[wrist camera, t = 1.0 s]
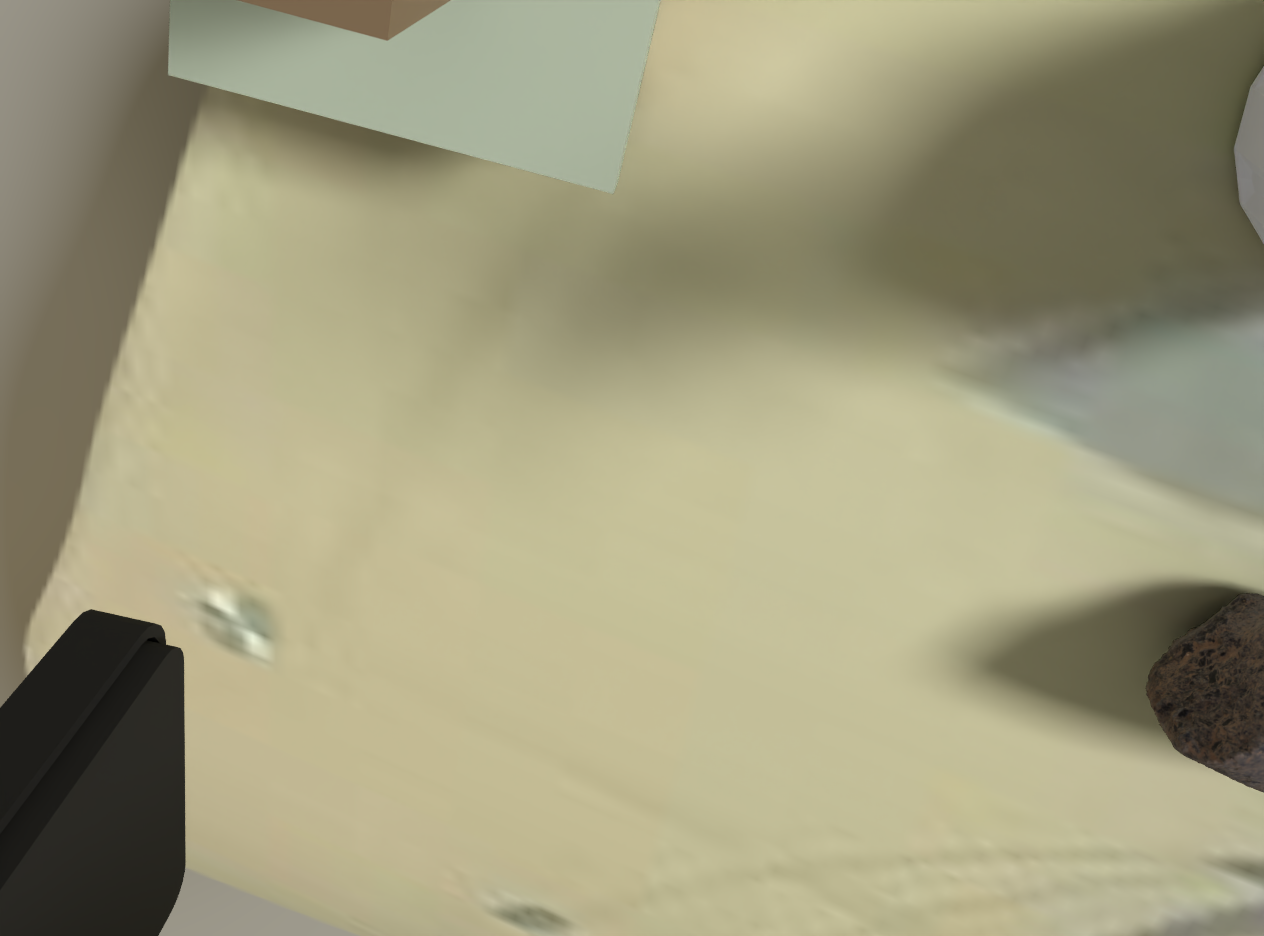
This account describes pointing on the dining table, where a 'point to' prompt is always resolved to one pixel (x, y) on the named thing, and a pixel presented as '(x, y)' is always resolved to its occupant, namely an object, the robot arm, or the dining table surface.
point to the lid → (438, 71)
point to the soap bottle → (1252, 156)
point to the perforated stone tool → (1217, 691)
